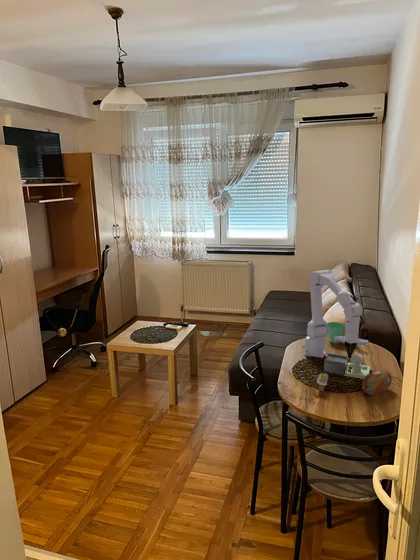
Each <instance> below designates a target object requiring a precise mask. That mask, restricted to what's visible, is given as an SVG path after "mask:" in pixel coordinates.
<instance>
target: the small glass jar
mask: <svg viewBox="0 0 420 560" xmlns="http://www.w3.org/2000/svg"><path fill="white" fill-rule="evenodd" d="M328 379H329V373H326V372H324V373H322V372H320V374H318V376H317V378H316V383H317V384H318V385H319V386H318V387H319V388H318V390H319V391H320V392H322V393H324V391H325V388H326V386H327V384H328Z"/></svg>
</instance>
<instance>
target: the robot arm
mask: <svg viewBox="0 0 420 560" xmlns="http://www.w3.org/2000/svg"><path fill="white" fill-rule="evenodd" d="M308 277H309V286H310V287H309V289H310V290H309V291H310V306H311V308H310V309H311V320H310V321H309V322H308V323H307V328H306V335H307V336H306V338H305V341H304V342H305V343H304V356H309V357H315V358H322V359H323V358H324V357H325V356H326V354H327V353H326V351H325V343H326V342H325V341H326V338H327V336H329V335H328V333H329V329H328V326H327V323H328V322H327V321H326V320H324V315H323V314H324V313H323V312H324V311H323V298H322V297H323V296H322V295H323V294H322V288H324V286H327V287H328V288H329V289H330V291H332V293H333V294H334V295H335V296H336V299H335V300H336V301H337V303H339V305H340V306H341V307H342V308H343V314H344V319H345V330H344V335H343V336H335V337H334V341H341V342H340V343H344V344H343V345H344V348H345V350H346V353H347V359H349V360H351V357H352V356H353V354H354V352H355V351H356V348H357V346H358V345H361V346H365V347H368V346H369V340H368V339H364V338H363V339H362V338H360V337H359V331H360V330H359V328H360V318H361V317H360V316H362V315H363V312H364V308H363V306H362V304H361V303H359V302H357V301H355V300H354V299H353V298H352V297H351V295H350V294H349V293H348V292H347V291H343V290H342V288H341V286H340V285H339V284H338V282H337V281H336V279H335V275H334V273H333V272H332V270H330V269H324V270H323V269H322V270H313V271H311V273H310V274H309V276H308Z"/></svg>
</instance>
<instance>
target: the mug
mask: <svg viewBox="0 0 420 560" xmlns="http://www.w3.org/2000/svg"><path fill="white" fill-rule="evenodd" d="M327 326H328V329H329V333H328V335H327V336H328V338H329V341H330V342H331V344H332V343H333V344H340V343H342V342H341V341H334V337H335V336H344V334H345V326H346V323H345V324H344V323H342V322H339V321H329V322H327Z"/></svg>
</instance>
